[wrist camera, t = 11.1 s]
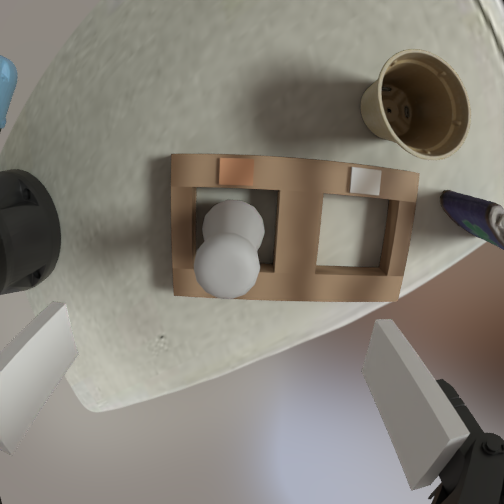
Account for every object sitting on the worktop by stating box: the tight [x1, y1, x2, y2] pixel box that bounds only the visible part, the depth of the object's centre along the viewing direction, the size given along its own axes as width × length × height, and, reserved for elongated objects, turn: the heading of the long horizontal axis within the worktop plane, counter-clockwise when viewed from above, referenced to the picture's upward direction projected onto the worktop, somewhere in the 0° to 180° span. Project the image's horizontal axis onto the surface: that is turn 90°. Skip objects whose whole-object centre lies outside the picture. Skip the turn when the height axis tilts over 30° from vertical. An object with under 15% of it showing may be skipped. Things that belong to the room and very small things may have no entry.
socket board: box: [171, 154, 419, 302], centre depth 31 cm, size 24×14×3 cm, turn 87°
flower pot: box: [360, 49, 471, 160], centre depth 24 cm, size 9×9×9 cm
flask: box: [440, 190, 504, 250], centre depth 26 cm, size 9×3×11 cm, turn 62°
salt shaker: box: [194, 200, 265, 299], centre depth 26 cm, size 6×6×13 cm
